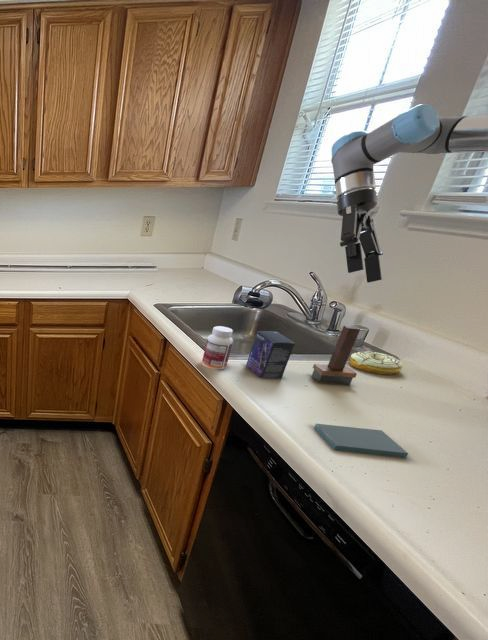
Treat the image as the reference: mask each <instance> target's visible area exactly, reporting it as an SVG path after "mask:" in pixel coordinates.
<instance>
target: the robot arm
mask: <svg viewBox="0 0 488 640" xmlns="http://www.w3.org/2000/svg"><path fill="white" fill-rule="evenodd" d="M399 153H405V154H407V153H408V154H409V153H410V154H427V155H438V154H439V155H440V154H454V153H455V154H458V153H460V154H462V153H464V154H465V153H467V154H468V153H471V154H472V153H488V113H487V114H476V115H474V114H473V115H457V116H439V114H438V112H437V110H436V109H435V108H434V106H433V107H432V106H431V105H430V104H428V103H421V104H418V105H416V106H414V107H412V108H410V109H408V110H405V111H403V112H401V113H400V114H397V116H395V117H394V118H392V119H390V120H389V121H387V122H385V123H383V124H382V125H380V126H378V127H377V128H375V129H373V130H372V131H370V132H368V131H365V130H355V131H352V132H350V133H348V134H343V136H341V137H339V138H338V139H336V140H335V142H333V144H332V146H331V160H330V161H331V164H332V171H333V178H334V187H335V189H334V190H333V192H332V193H333V195H335V196H336V197H335V198H336V200H337V201H336V209H337V214H338V215H339V216H341V217H342V219H341V220H342V221H341V231H340V242H339V245H340V247H341V248H343V247H344V248H345V249H344V250H345V258H346V259H345V260H346V268H347V273H349V274H352V273H356V272H360V271H363V270H365V278H366V282H367V283H373V282H377V281H383V276H382V271H381V270H382V269H381V262H380V256H383V255H384V251H383V250H381V248H380V244H379V239H378V237H377V232H376V229H375V224H374V218H373V217H372V215H369V214H368V212H370V211H371V210H373V209H374V208H375V207H376V206H377V205H378V196H377V190H376V188H377V184H376V179H375V172H374V165H376V164H378V163H381V162H382V161H384V160H386V159H388V158H390V157H392V156H394V155H396V154H399ZM362 251H363V253H364V258H363V253H362ZM363 261H364V262H363ZM364 268H365V269H364Z"/></svg>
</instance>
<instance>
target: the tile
mask: <svg viewBox="0 0 488 640" xmlns="http://www.w3.org/2000/svg"><path fill="white" fill-rule="evenodd" d="M313 429H314V430H315V431H316V432H317V433H318V435H320V437H322V438H323V439H324V441H325V442H326V443H327V444H328V445H329V446H330V447H331V449H332V450H333V451H339V452H340V451H341V452H348V453H349V452H350V453H355V454H356V453H357V454H366V455H375V456H383V457H393V458H399V459H400V458H401V459H406V458H407V457H408V455H409V453H408V452H407V451H406V450H405V449H404V448H403V447H402V446H401V445H399V444H398V443H397V442H396V441H395V440H393V438H391V437H390V436H389V435H388V434H386V432H384V431H383V429H382V430H381V429H372V428H362V427H353V426H346V425H345V426H344V425H334V424H326V423H325V424H324V423H315V425H314V426H313Z"/></svg>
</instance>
